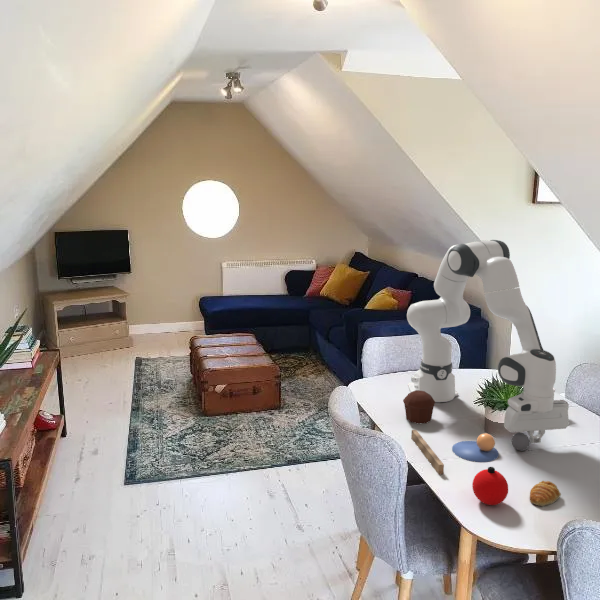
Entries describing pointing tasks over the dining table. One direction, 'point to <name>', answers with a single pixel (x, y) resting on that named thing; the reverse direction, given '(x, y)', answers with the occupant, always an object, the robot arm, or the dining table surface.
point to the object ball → (485, 442)
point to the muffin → (419, 407)
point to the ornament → (490, 486)
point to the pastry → (544, 493)
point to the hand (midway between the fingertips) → (534, 442)
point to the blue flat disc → (474, 452)
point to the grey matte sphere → (520, 441)
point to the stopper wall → (427, 452)
